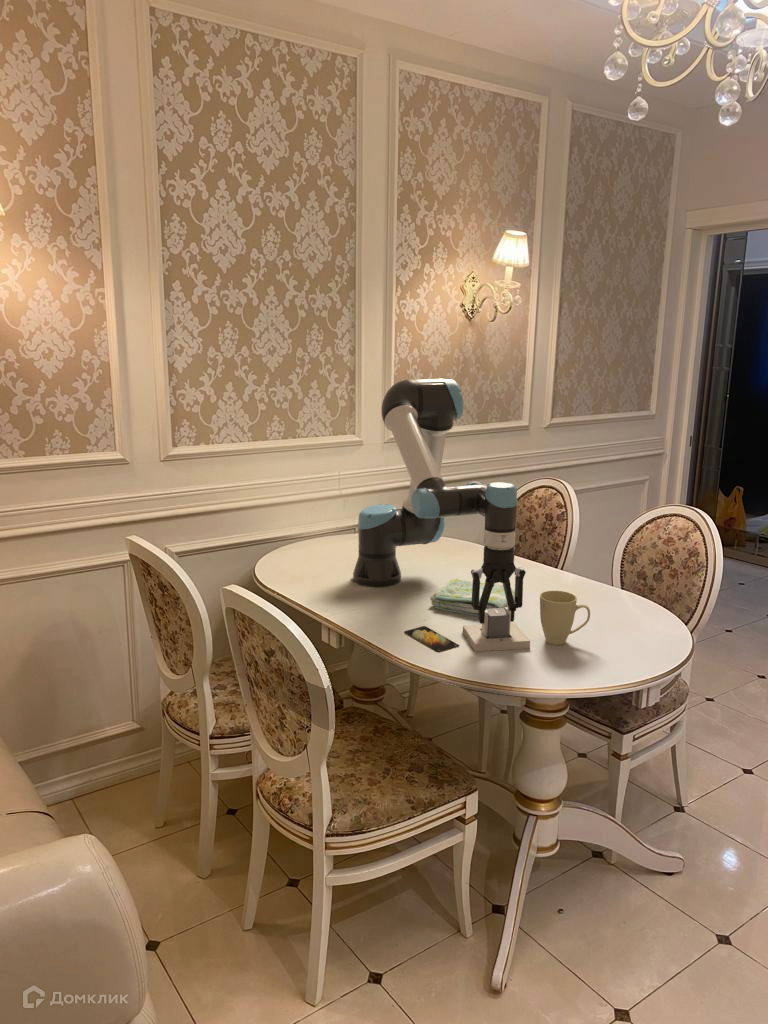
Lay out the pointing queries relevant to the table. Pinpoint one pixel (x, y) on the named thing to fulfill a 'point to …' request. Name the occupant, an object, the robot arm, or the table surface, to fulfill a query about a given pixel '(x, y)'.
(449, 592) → the towel
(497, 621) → the block
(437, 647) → the smartphone
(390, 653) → the table surface
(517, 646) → the socket plate
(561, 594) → the mug
